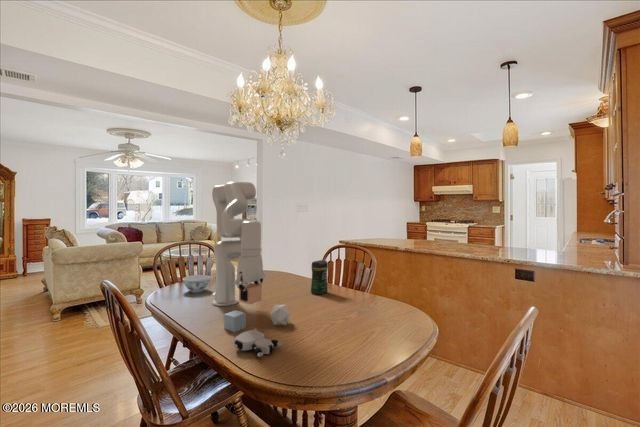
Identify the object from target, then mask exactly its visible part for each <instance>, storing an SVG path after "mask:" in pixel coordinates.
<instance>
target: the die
mask: <svg viewBox="0 0 640 427" xmlns="http://www.w3.org/2000/svg"><path fill="white" fill-rule="evenodd" d="M269 316H270V318H271V321H272V324H273V326H287V324H288V322H289V320H290V318H291V313H290V309H289V307H288V304H274V306H273V307H272V309H271V311H270V313H269Z"/></svg>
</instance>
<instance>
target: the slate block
mask: <svg viewBox="0 0 640 427" xmlns="http://www.w3.org/2000/svg"><path fill="white" fill-rule="evenodd" d="M223 315H224V317H223V329H224V330H226V329H227V330H226V331H229V330H230V332H232V331H233V333H235V332H238V331H240V329H241V330H243V329H245V328H247V322H246V321H247V316H246V315H247V313H246V312H243V311H240V310H232V311H229V312H227V313H224V314H223ZM242 328H243V329H242Z"/></svg>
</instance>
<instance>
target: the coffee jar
mask: <svg viewBox="0 0 640 427" xmlns="http://www.w3.org/2000/svg"><path fill="white" fill-rule="evenodd" d="M310 267H311V285H310V292H311V293H312V294H313V295H323V294H327V293H328V268H329V264H328V261H327V260H322V259H320V260H315V261H312V263H311V266H310Z"/></svg>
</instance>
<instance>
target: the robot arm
mask: <svg viewBox="0 0 640 427" xmlns="http://www.w3.org/2000/svg"><path fill="white" fill-rule="evenodd" d="M211 193H212V194H211V195H212V197H211V198H212V201H213V204H214V206H215V210H216V234H217V236H218V237H219V238H223V239H230V240H221V241H217V242H216V243H215V244H214V246H213V253H214V254H213V255H214V261H215V262H214V263H215V292H214V293H212V294H211V295H212V297H214V299H213V300H212V305H214V306H218V307H228V306H232V305H236V304H238V302H239V298H238V297H236V287H237V289H239V290H240V299H241V300H243V301H247V291H246V289H247V285H248V283H254V284H258V285H262V283H263V282H264V279H266V278H265V277H266V274H265V273H264V265H263V257H262V223H261V222H260V221H258V220H257V219H255V218H235V217H236V216H237V217H238V216H239V215H242V214H244V213H245V212H246V211H247V210H248V208H249V202H251V201H253V200H254V199H256V196H257V190H256V186H255V185H254V184H253V183H252V182H249V181H229V182H227V183H226V184H219V185H215V186H214V187H213V188H212V192H211ZM234 238H235V240H231V239H234ZM236 238H237V239H238V240H237V239H236ZM237 259H238V260H237ZM231 260H237V265H236V267H235V265H234V264H233V263H232V262H231ZM243 285H244V287H243Z"/></svg>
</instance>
